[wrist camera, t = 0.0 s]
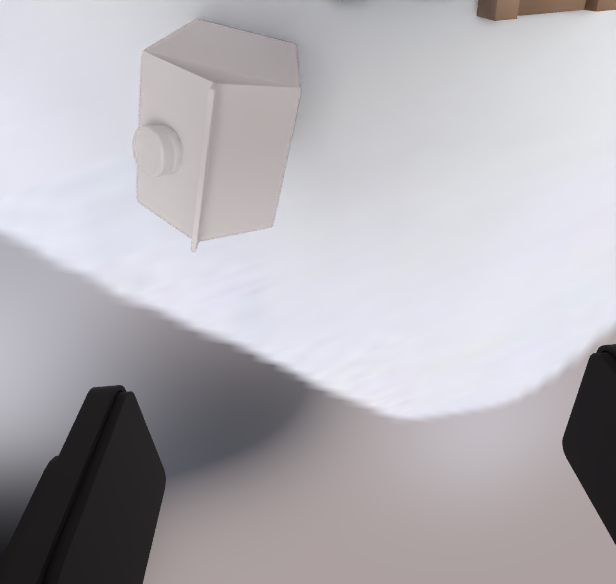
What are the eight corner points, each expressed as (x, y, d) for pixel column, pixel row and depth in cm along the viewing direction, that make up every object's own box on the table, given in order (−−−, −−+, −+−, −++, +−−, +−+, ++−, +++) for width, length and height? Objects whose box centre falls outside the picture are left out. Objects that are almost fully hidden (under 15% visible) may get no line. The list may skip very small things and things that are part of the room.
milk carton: (296, 43, 34) (305, 110, 18) (277, 141, 38) (270, 266, 22) (195, 17, 33) (112, 66, 17) (186, 121, 37) (111, 238, 21)
